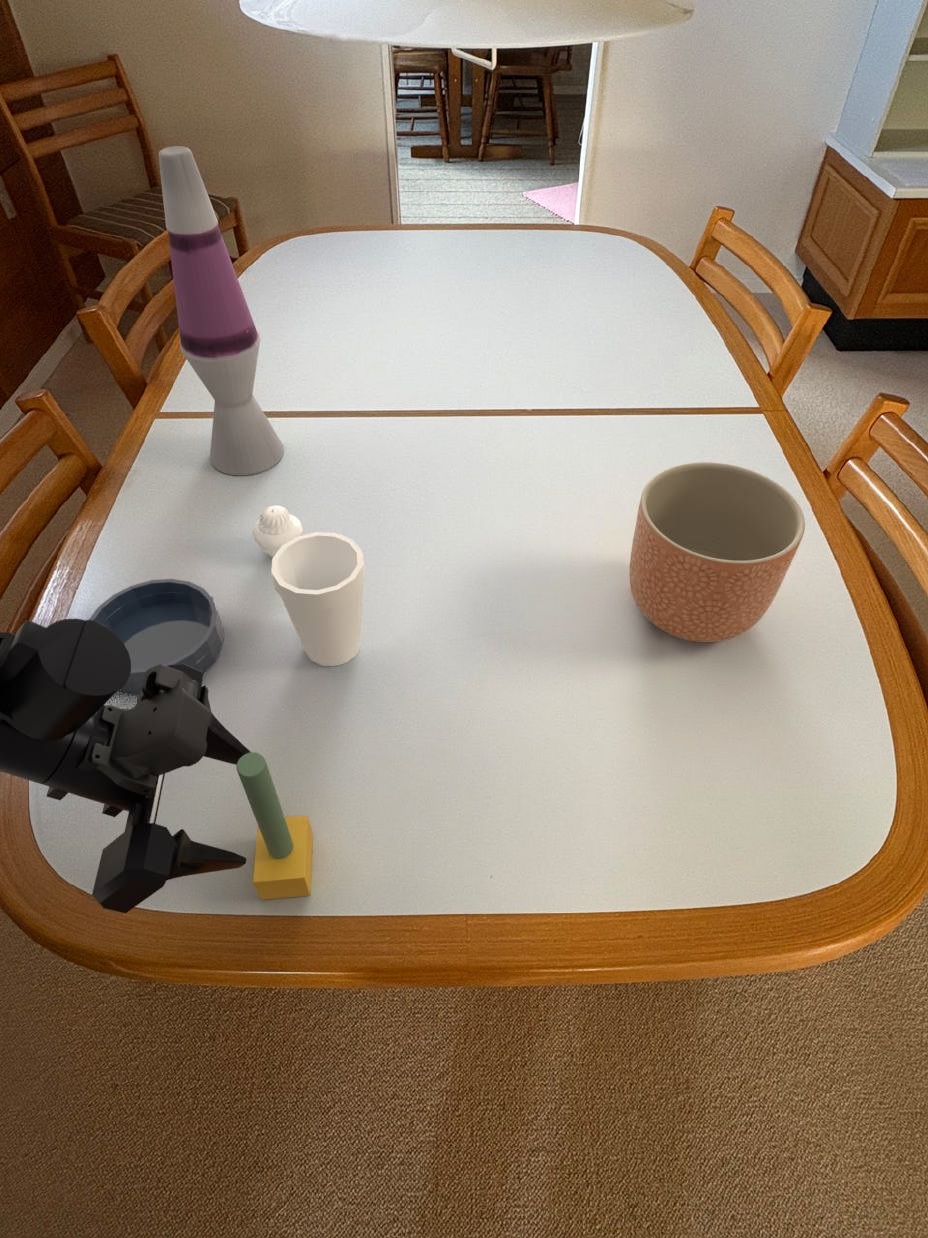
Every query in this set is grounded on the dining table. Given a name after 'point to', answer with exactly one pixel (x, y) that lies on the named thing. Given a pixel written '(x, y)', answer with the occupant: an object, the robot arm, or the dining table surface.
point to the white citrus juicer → (276, 529)
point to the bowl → (163, 626)
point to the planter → (711, 549)
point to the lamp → (215, 320)
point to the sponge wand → (276, 836)
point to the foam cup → (322, 594)
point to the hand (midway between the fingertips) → (249, 810)
